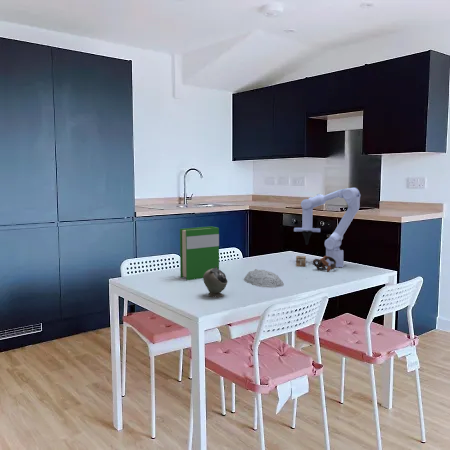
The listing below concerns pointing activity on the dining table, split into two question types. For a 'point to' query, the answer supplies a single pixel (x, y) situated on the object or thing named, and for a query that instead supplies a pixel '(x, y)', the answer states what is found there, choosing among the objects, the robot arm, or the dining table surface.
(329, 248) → the robot arm
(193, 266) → the hardback book
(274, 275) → the grey rock
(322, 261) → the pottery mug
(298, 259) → the letter cube
